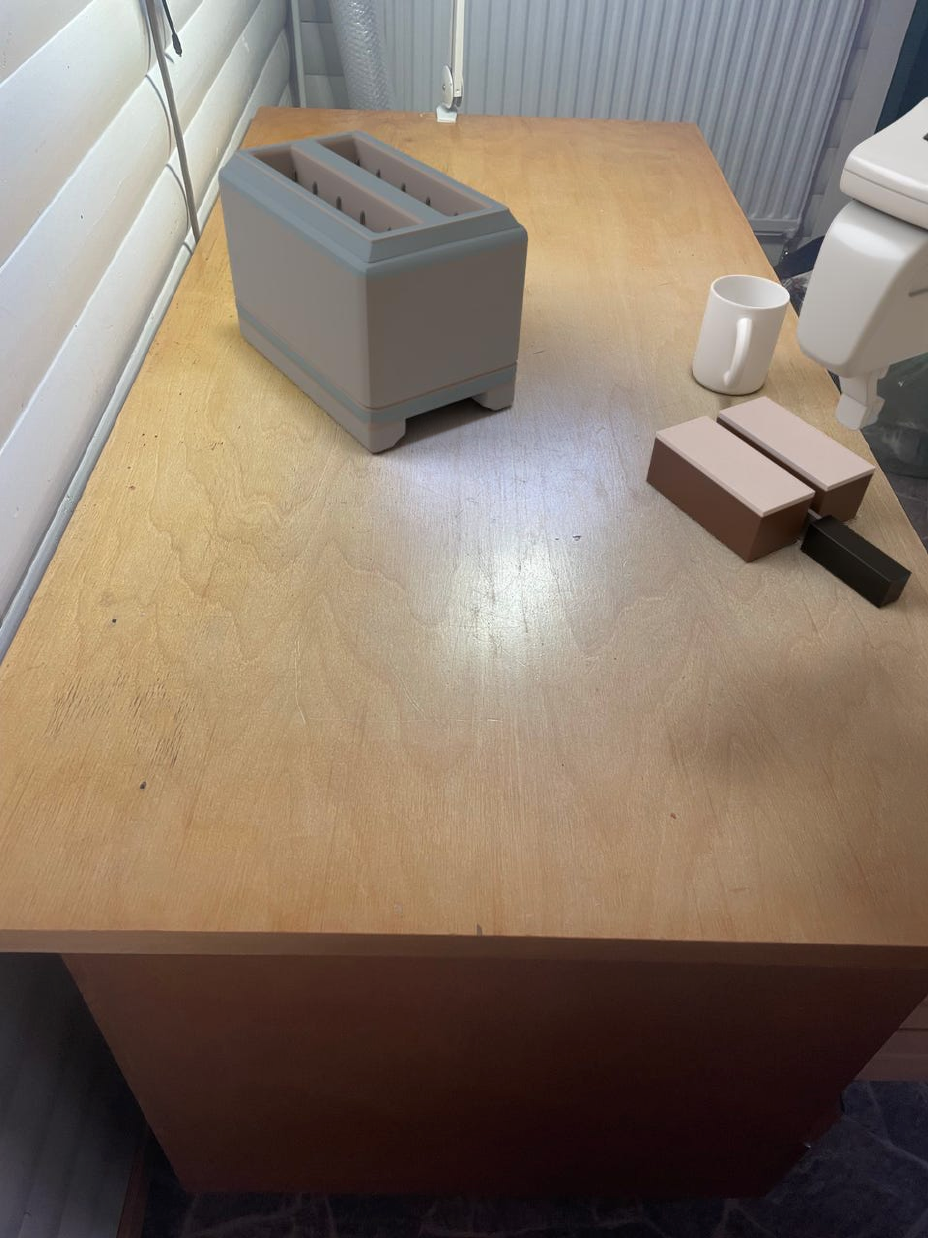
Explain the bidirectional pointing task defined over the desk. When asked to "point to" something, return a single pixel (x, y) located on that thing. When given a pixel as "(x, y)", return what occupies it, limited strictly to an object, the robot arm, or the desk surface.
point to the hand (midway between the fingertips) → (908, 403)
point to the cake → (756, 475)
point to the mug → (739, 333)
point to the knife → (853, 559)
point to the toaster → (373, 279)
